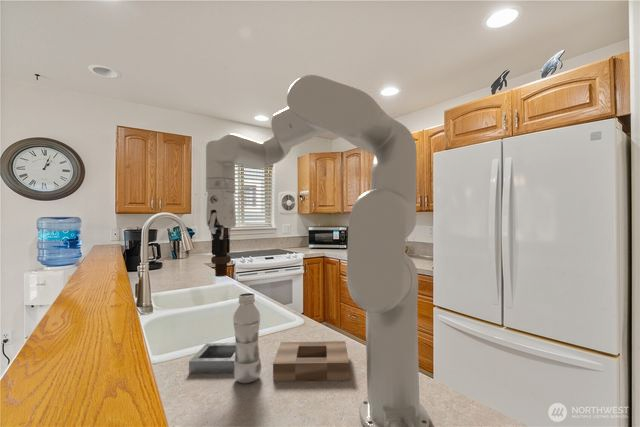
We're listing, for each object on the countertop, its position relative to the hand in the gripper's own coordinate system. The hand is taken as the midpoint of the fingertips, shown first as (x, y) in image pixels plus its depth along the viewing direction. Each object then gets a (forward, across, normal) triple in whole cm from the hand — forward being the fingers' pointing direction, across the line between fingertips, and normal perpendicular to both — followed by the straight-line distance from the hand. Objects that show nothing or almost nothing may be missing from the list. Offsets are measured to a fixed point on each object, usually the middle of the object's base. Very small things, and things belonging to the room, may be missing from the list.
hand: (221, 253), depth 76 cm
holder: (+29, 0, 0) cm, 29 cm away
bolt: (+6, 0, 0) cm, 6 cm away
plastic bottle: (+30, -8, -9) cm, 32 cm away
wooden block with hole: (+29, -3, -24) cm, 38 cm away
